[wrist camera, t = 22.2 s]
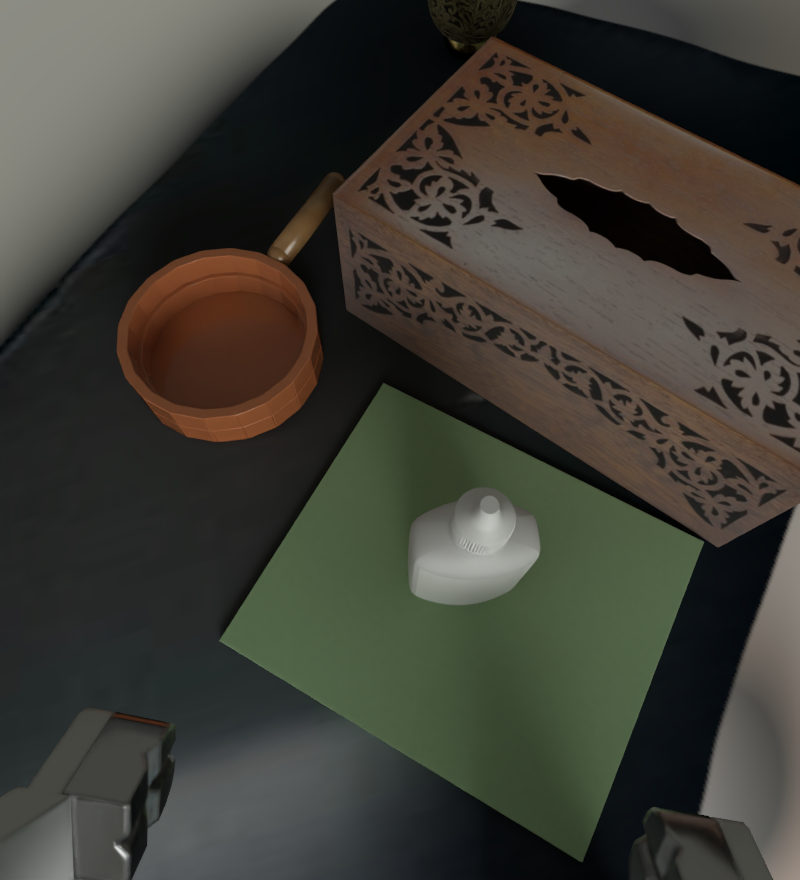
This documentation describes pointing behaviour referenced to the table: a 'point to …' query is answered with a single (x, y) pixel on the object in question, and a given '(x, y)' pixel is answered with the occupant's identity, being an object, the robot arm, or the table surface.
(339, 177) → the pan handle
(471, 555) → the eye dropper bottle
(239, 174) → the table surface
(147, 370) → the pan
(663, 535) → the napkin
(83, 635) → the table surface
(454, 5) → the cup
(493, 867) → the table surface
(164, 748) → the robot arm
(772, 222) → the tissue box cover
